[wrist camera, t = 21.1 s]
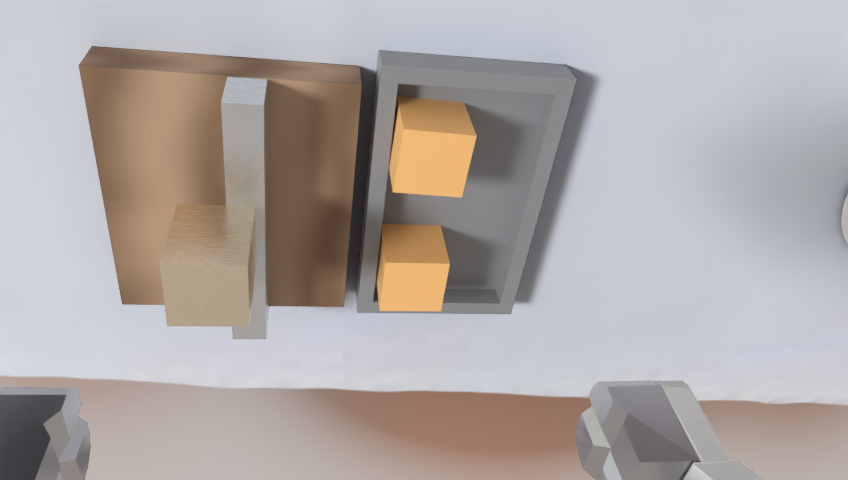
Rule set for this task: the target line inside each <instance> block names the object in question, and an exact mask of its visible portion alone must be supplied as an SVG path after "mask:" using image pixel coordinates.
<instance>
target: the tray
mask: <svg viewBox="0 0 848 480" xmlns="http://www.w3.org/2000/svg"><path fill="white" fill-rule="evenodd" d="M576 81H577V79H576V77H575V76H574V75H573V73H572V72H571V70H570V69H569V68H568V66H567V65H560V64H548V63H535V62H522V61H509V60H496V59H484V58H471V57H458V56H445V55H433V54H420V53H407V52H394V51H382V50H379V54H378V64H377V75H376V86H375V96H374V107H373V118H372V128H371V139H370V150H369V160H368V171H367V181H366V192H365V203H364V213H363V224H362V235H361V245H360V256H359V267H358V277H357V288H356V301H357V313H451V314H511V312H512V308H513V305H514V301H515V298H516V294H517V290H518V287H519V283H520V280H521V276H522V273H523V269H524V266H525V262H526V258H527V255H528V251H529V248H530V244H531V241H532V237H533V234H534V230H535V227H536V223H537V219H538V216H539V212H540V209H541V205H542V202H543V198H544V195H545V191H546V188H547V184H548V180H549V177H550V173H551V170H552V166H553V163H554V159H555V156H556V152H557V149H558V145H559V141H560V138H561V134H562V131H563V127H564V124H565V120H566V117H567V113H568V110H569V106H570V102H571V99H572V95H573V92H574V88H575V85H576ZM397 96H405V97H415V98H424V99H434V100H443V101H453V102H463V103H464V104H465V106H466V109H467V112H468V114H469V117H470V120H471V122H472V125H473V127H474V130H475V133H476V135H477V137H476V141H475V145H474V149H473V153H472V157H471V162H470V166H469V170H468V174H467V178H466V182H465V186H464V190H463V195H462V198H461V197H448V196H434V195H421V194H408V193H394V192H393V190H392V184H391V178H390V171H389V159H390V150H391V142H392V133H393V124H394V116H395V107H396V98H397ZM382 224H406V225H440V226H441V229H442V233H443V237H444V241H445V245H446V250H447V254H448V258H449V262H450V266H449V272H448V277H447V282H446V287H445V292H444V298H443V303H442V308H441V311H380V309H379V300H378V290H377V281H376V272H377V263H378V255H379V246H380V237H381V228H382Z"/></svg>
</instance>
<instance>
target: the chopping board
mask: <svg viewBox="0 0 848 480" xmlns="http://www.w3.org/2000/svg"><path fill="white" fill-rule="evenodd" d="M79 69H80V75H81V80H82V86H83V91H84V97H85V102H86V108H87V113H88V119H89V124H90V130H91V135H92V141H93V146H94V152H95V157H96V163H97V168H98V174H99V179H100V185H101V190H102V196H103V201H104V207H105V212H106V218H107V223H108V229H109V234H110V240H111V245H112V251H113V256H114V262H115V267H116V273H117V278H118V284H119V289H120V295H121V300H122V304H137V305H165V303H164V295H163V288H162V280H161V272H160V265H159V264H160V261H161V257H162V254H163V250H164V247H165V243H166V240H167V236H168V233H169V229H170V226H171V223H172V219H173V216H174V212H175V209H176V205H177V204H194V205H221V206H226V191H225V172H224V152H223V132H222V112H221V100H222V96H223V92H224V88H225V84H226V80H227V76H231V77H245V78H260V79H267V95H268V260H269V306H322V307H344V298H345V286H346V274H347V261H348V249H349V237H350V224H351V212H352V200H353V187H354V175H355V162H356V150H357V138H358V125H359V113H360V101H361V88H362V83H361V75H360V66H352V65H339V64H325V63H312V62H298V61H284V60H271V59H257V58H244V57H230V56H217V55H203V54H190V53H176V52H163V51H149V50H135V49H122V48H108V47H95V46H92V47H91V48H90V50H89V51H88V53H87V54H86V56H85V57H84V59H83V60H82V62H81V63H80V65H79Z"/></svg>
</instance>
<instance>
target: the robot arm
mask: <svg viewBox="0 0 848 480" xmlns="http://www.w3.org/2000/svg"><path fill="white" fill-rule="evenodd" d="M841 227H842V232H843V236H844V238H845V240H846V242H847V244H848V194H847V197H846V199H845V203H844V206H843V210H842V217H841ZM589 398H590V401H591V403H592V406H591V407H590V408H589V409H587V410H586V411H585V412H583V413H582V414H581V417H580V419H579V422H578V425H577V436H576V444H577V449H578V455H579V458H580V461H581V464H582V467H583V469H584V470H585V471H586V472H588V473H589V474H590V475H591V476H592V477H593V478H594V479H595V480H764V479H762V478H761V477H760V476H758V475H757V474H755V473H754V472H753V471H752V470H750V469H749V468H748V467H746V466H745V465H744V464H742V463H741V462H740V461H731V460H730V458H729V456H728V454H727V453H726V451H725V449H724V448H723V446H722V444H721V442H720V440H719V439H718V437H717V435H716V433H715V432H714V430H713V428H712V426H711V424H710V423H709V421H708V419H707V417H706V416H705V414H704V412H703V410H702V409H701V407H700V405H699V403H698V402H697V400H696V398H695V396H694V394H693V393H692V391H691V389H690V387H689V386H688V385H687V384H686V383H684V382H683V381H653V382H652V381H612V382H598V383H597V384H595V385H594V386H593V388H592V390H591V392H590V395H589ZM81 405H82V401H81V397H80V395H79V391H78V389H77V388H48V387H46V388H45V387H0V480H84V479H85V476H86V472H87V469H88V462H89V456H90V448H91V447H90V432H89V428H88V424H87V422H86V421H84V420H83V419H81V418H80V417H79V416H78V415H79V412H80V409H81Z"/></svg>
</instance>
